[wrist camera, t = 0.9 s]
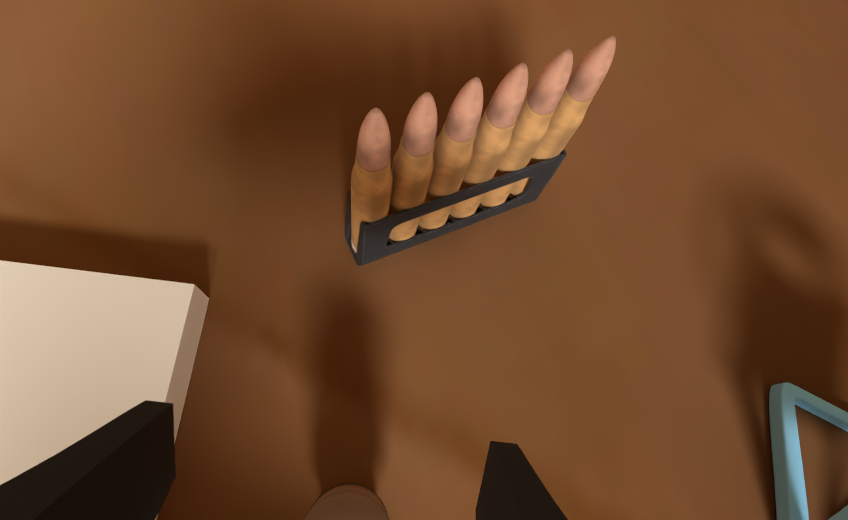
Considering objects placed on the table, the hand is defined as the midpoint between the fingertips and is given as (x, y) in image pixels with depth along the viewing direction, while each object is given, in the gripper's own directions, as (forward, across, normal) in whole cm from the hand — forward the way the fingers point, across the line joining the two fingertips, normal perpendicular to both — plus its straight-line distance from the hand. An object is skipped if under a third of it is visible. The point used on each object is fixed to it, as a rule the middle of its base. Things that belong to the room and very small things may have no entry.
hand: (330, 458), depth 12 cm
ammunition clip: (+18, -3, -1) cm, 18 cm away
